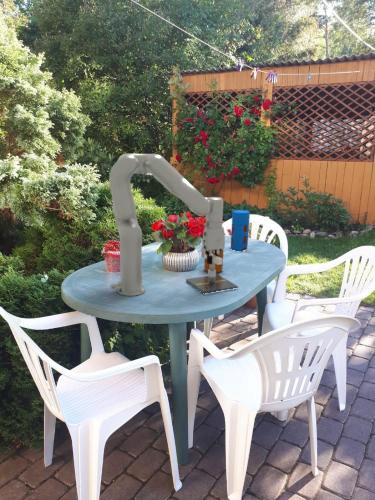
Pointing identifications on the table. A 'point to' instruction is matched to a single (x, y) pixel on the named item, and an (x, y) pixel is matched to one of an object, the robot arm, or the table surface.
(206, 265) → the wine bottle
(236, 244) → the thermos
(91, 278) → the table surface
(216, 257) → the t handle
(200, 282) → the post base
